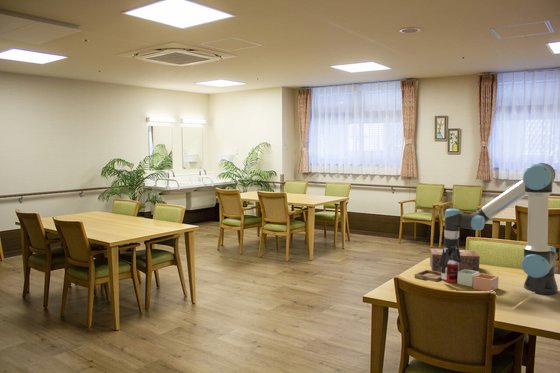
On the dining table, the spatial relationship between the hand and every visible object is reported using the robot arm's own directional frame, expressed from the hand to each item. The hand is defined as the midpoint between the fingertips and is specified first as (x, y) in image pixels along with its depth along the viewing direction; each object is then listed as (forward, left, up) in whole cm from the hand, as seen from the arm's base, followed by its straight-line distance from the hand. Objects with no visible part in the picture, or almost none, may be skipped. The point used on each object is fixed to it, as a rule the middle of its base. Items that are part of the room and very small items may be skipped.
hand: (449, 276), depth 258 cm
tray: (+11, 0, -3) cm, 11 cm away
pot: (-19, 0, -3) cm, 19 cm away
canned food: (0, 0, -3) cm, 3 cm away
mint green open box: (-9, -2, -3) cm, 10 cm away
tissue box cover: (+11, -27, -3) cm, 29 cm away
